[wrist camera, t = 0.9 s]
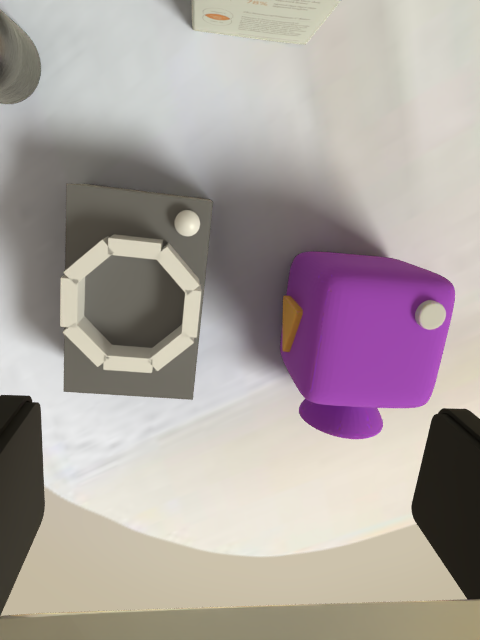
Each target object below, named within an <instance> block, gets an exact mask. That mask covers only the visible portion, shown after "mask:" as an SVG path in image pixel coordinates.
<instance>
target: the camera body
mask: <svg viewBox="0 0 480 640" xmlns="http://www.w3.org/2000/svg"><path fill="white" fill-rule="evenodd" d="M212 206H213V201H211V200H210V199H203V198H195V197H187V196H179V195H171V194H163V193H155V192H147V191H139V190H131V189H123V188H115V187H107V186H99V185H91V184H66V251H65V271H64V274H65V275H64V276H63V277H61V294H60V327H65V329H64V331H63V333H64V392H78V393H94V394H111V395H127V396H143V397H159V398H176V399H192V400H193V392H194V382H195V372H196V362H197V353H198V343H199V333H200V323H201V314H202V304H203V294H204V284H205V275H206V265H207V255H208V245H209V236H210V226H211V216H212Z"/></svg>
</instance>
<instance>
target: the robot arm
mask: <svg viewBox="0 0 480 640" xmlns="http://www.w3.org/2000/svg"><path fill="white" fill-rule="evenodd" d="M44 506H45V500H44V477H43V453H42V429H41V408H40V404H39V403H35V402H32V399H31V397H30V396H18V395H1V396H0V615H1V613H2V611H3V608H4V606H5V604H6V602H7V599H8V597H9V595H10V593H11V590H12V588H13V586H14V583H15V581H16V579H17V577H18V574H19V572H20V570H21V567H22V565H23V563H24V561H25V558H26V556H27V554H28V552H29V549H30V547H31V545H32V543H33V540H34V538H35V536H36V533H37V531H38V529H39V527H40V524H41V521H42V519H43V515H44ZM412 515H413V518H414V520H415V522H416V523H417V525H418V526H419V528H420V529H421V531H422V532H423V534H424V535H425V537H426V538H427V540H428V541H429V543H430V544H431V546H432V547H433V549H434V550H435V551H436V553H437V554H438V556H439V557H440V559H441V560H442V562H443V563H444V565H445V566H446V568H447V569H448V571H449V572H450V574H451V575H452V577H453V578H454V580H455V581H456V583H457V584H458V586H459V587H460V589H461V590H462V592H463V593H464V595H465V596H466V598H467V599H468V600H437V601H402V602H368V603H337V604H335V603H334V604H301V605H268V606H236V607H202V608H176V609H175V608H174V609H146V610H121V611H120V610H118V611H92V612H62V613H38V614H37V613H36V614H21V615H8V616H0V640H480V419H479V418H478V417H477V416H475V415H474V414H473V413H472V412H470V411H469V410H467V409H445V408H443V409H442V410H440V412H439V413H438V414H436V415H434V416H433V418H432V421H431V425H430V429H429V434H428V438H427V442H426V446H425V450H424V455H423V459H422V463H421V467H420V472H419V476H418V480H417V484H416V489H415V493H414V497H413V501H412Z"/></svg>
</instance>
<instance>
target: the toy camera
mask: <svg viewBox="0 0 480 640" xmlns="http://www.w3.org/2000/svg"><path fill="white" fill-rule="evenodd" d="M454 301H455V290H454V287H453V285H452V283H451V282H450V281H449V280H447V279H446V278H444V277H442V276H441V275H438V274H436V273H433V272H431V271H428V270H426V269H423V268H420V267H417V266H414V265H412V264H409V263H406V262H403V261H400V260H397V259H393V258H386V257H377V256H366V255H355V254H343V253H332V252H304V253H300V254H298V255H297V256H296V257H295V258H294V260H293V262H292V265H291V268H290V273H289V279H288V287H287V294H286V295H284V296H283V324H282V333H281V342H280V352H281V356H282V359H283V361H284V364H285V366H286V368H287V370H288V372H289V374H290V376H291V377H292V379H293V381H294V383H295V384H296V386H297V388H298V390H299V391H300V393H301V394H302V395H303V396H304V397H305V400H304V401H303V402H302V403H301V405H300V407H299V413H300V416H301V417H302V419H303V420H304V421H305V422H307V423H308V424H309V425H311V426H312V427H314V428H316V429H318V430H320V431H322V432H324V433H327V434H330V435H333V436H337V437H341V438H348V439H364V438H369V437H373V436H375V435H377V434H378V433H379V432H380V431H381V430H382V427H383V421H382V418H381V415H380V413H379V411H378V409H377V408H415V407H420V406H423V405H425V404H426V403H427V402H428V400H429V399H430V397H431V395H432V392H433V389H434V386H435V382H436V378H437V374H438V370H439V366H440V362H441V358H442V354H443V350H444V346H445V342H446V337H447V333H448V329H449V325H450V321H451V316H452V312H453V307H454Z"/></svg>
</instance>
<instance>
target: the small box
mask: <svg viewBox="0 0 480 640" xmlns="http://www.w3.org/2000/svg"><path fill="white" fill-rule="evenodd" d="M340 1H341V0H191V5H192V28H193V30H194V31H201V32H208V33H216V34H223V35H230V36H238V37H246V38H254V39H261V40H269V41H277V42H285V43H294V44H303V45H306V44H307V42H308V41H309V40H310V39H311V38H312V36H313V35H314V34H315V33H316V31H317V30H318V29H319V28H320V26H321V25H322V24H323V23H324V22H325V20H326V19H327V18H328V17H329V15H330V14H331V13H332V11H333V10H334V9H335V8H336V6H337V5H338V4H339V3H340Z"/></svg>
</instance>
